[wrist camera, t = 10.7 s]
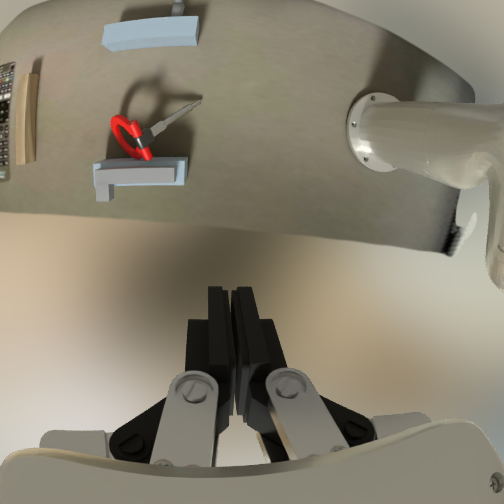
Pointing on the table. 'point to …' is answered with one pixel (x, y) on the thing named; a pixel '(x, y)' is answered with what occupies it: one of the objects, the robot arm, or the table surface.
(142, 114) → the table surface
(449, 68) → the table surface
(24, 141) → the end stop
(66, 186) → the table surface
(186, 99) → the table surface
